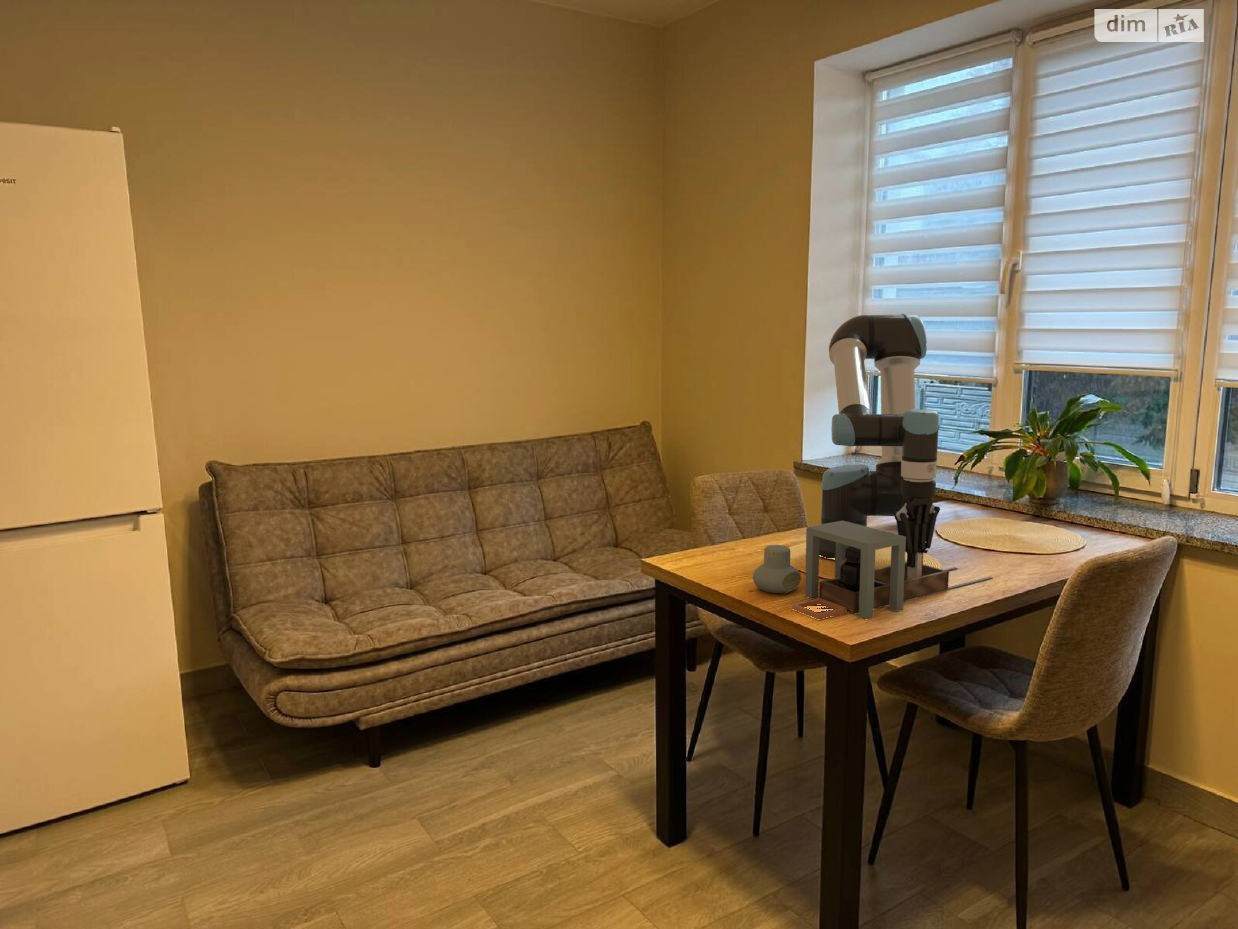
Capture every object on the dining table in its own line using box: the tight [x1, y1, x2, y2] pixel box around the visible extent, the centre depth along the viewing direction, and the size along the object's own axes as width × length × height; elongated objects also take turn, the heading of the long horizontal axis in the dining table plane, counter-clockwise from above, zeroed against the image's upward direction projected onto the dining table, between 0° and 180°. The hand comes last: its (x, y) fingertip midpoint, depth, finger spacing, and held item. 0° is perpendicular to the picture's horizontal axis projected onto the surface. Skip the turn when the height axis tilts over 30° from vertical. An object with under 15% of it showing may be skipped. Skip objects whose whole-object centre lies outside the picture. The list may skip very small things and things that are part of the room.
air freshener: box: [752, 544, 802, 594], centre depth 198 cm, size 11×8×10 cm
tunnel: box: [804, 521, 994, 620], centre depth 197 cm, size 46×18×16 cm, turn 121°
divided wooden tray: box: [818, 561, 950, 612], centre depth 194 cm, size 29×11×4 cm, turn 121°
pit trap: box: [791, 597, 848, 620], centre depth 184 cm, size 8×8×1 cm
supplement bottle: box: [839, 547, 861, 592], centre depth 188 cm, size 7×7×12 cm
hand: (914, 580), depth 199 cm, fingers closed
